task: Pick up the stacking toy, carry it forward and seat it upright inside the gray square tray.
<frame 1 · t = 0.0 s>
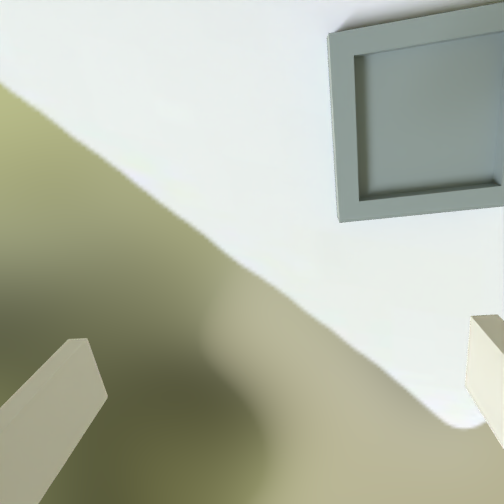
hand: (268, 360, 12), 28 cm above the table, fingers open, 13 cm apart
gray square tray: (422, 122, 34), on the table
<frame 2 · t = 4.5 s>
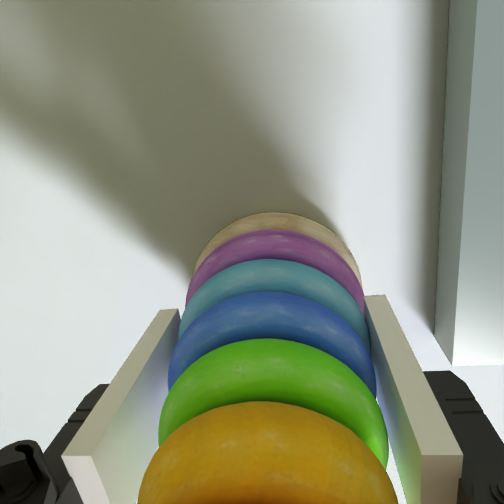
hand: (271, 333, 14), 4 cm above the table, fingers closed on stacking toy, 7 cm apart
stacking toy: (276, 284, 18), on the table, touching gripper
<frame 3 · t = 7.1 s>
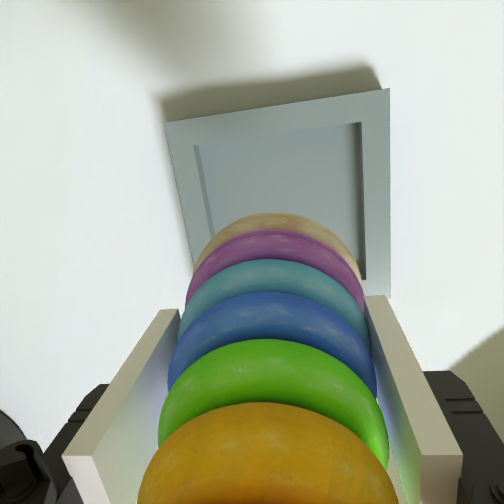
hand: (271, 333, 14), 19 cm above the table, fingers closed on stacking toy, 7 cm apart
gray square tray: (284, 208, 32), on the table
stacking toy: (276, 284, 18), point 15 cm above the table, touching gripper
when the fingers open (6 cm above the table, at t = 10.2 s): stacking toy drops 1 cm, resting on gray square tray.
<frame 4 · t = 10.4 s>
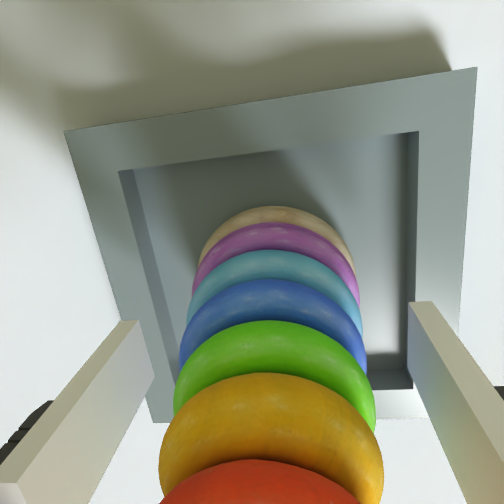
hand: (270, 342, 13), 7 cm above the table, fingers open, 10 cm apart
gray square tray: (278, 269, 20), on the table
stacking toy: (276, 272, 19), point 1 cm above the table, touching gray square tray
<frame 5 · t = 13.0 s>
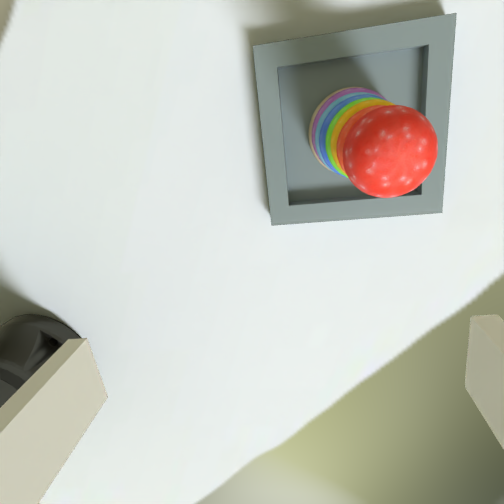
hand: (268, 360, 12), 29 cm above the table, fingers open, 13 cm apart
gray square tray: (349, 131, 36), on the table
stacking toy: (348, 131, 36), resting on gray square tray
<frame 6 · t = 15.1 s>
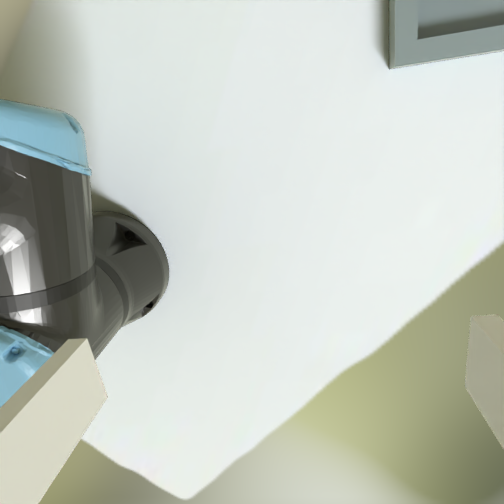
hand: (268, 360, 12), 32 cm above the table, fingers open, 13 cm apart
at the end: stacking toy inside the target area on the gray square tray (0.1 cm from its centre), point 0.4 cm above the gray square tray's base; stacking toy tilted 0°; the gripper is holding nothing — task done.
